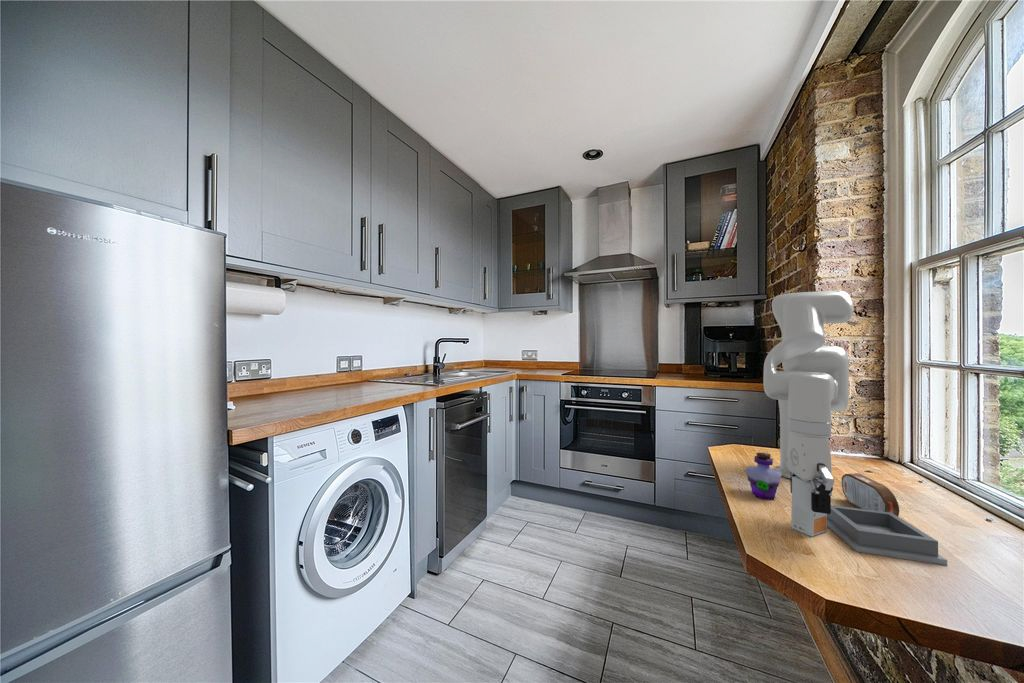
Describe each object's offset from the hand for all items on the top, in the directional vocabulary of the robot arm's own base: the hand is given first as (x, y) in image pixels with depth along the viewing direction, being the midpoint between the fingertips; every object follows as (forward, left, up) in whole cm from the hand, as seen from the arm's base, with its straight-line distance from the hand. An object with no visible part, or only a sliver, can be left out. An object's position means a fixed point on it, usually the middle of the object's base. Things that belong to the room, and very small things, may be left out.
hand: (809, 503), depth 79 cm
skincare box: (0, 0, -7) cm, 7 cm away
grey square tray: (0, +12, -6) cm, 14 cm away
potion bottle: (-18, -3, -7) cm, 20 cm away
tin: (-16, +19, -7) cm, 26 cm away
